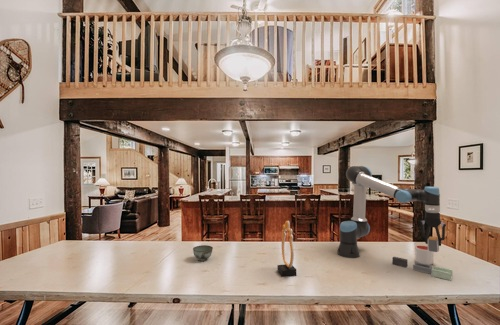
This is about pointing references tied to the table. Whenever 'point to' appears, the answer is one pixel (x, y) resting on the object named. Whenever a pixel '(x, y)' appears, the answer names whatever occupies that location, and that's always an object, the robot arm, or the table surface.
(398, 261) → the charcoal brick
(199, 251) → the bowl
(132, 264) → the table surface
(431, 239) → the orange tall block
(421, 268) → the clip
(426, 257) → the cup
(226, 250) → the table surface
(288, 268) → the loop sculpture
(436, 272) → the end holder
